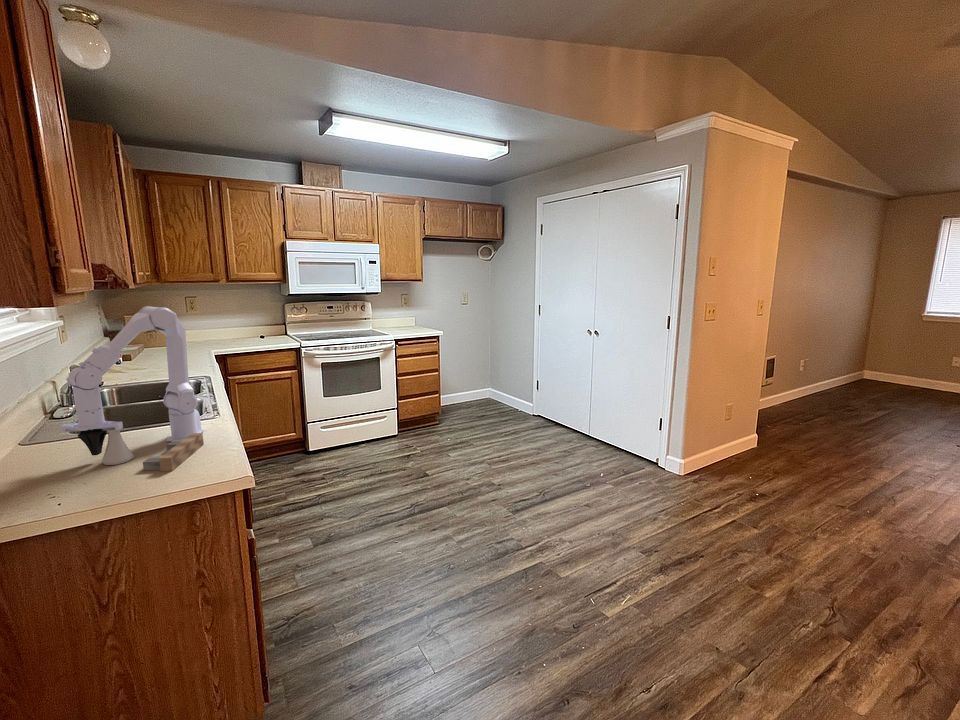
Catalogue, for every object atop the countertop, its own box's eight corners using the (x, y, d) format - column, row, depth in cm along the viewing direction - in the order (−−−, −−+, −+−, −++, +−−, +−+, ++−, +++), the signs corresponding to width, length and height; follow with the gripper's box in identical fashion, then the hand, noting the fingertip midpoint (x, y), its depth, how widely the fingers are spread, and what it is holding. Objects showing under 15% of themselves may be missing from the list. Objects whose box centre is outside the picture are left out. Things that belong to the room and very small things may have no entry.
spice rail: (176, 445, 142) (174, 433, 141) (203, 444, 143) (202, 432, 142) (140, 472, 123) (138, 459, 122) (172, 471, 124) (170, 457, 123)
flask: (140, 457, 133) (135, 425, 131) (114, 467, 126) (109, 433, 124) (121, 454, 135) (117, 423, 133) (96, 464, 128) (90, 431, 126)
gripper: (49, 414, 121) (57, 461, 124) (109, 412, 124) (116, 458, 126) (68, 407, 128) (76, 451, 131) (124, 404, 131) (130, 448, 133)
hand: (96, 454), depth 129 cm, fingers closed
